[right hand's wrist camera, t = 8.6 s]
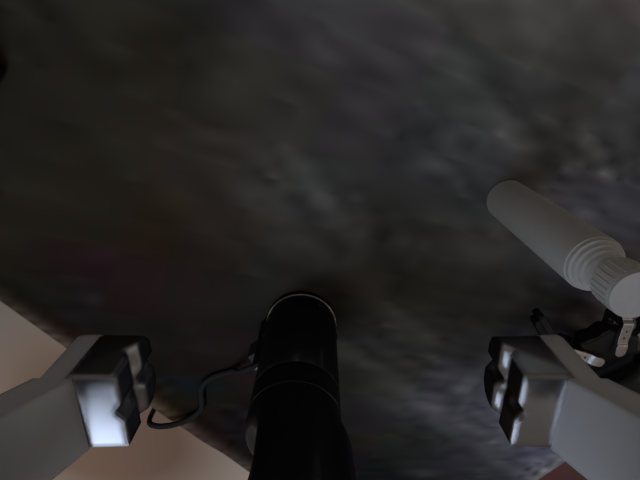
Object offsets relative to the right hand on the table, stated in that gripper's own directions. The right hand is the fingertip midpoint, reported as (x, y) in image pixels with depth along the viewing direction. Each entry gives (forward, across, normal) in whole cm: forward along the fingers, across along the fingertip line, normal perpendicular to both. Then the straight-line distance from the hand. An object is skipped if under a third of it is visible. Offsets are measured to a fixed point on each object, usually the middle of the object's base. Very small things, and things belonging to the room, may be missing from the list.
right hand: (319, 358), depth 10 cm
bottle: (+42, -23, +8) cm, 48 cm away
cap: (+19, -22, +8) cm, 30 cm away
